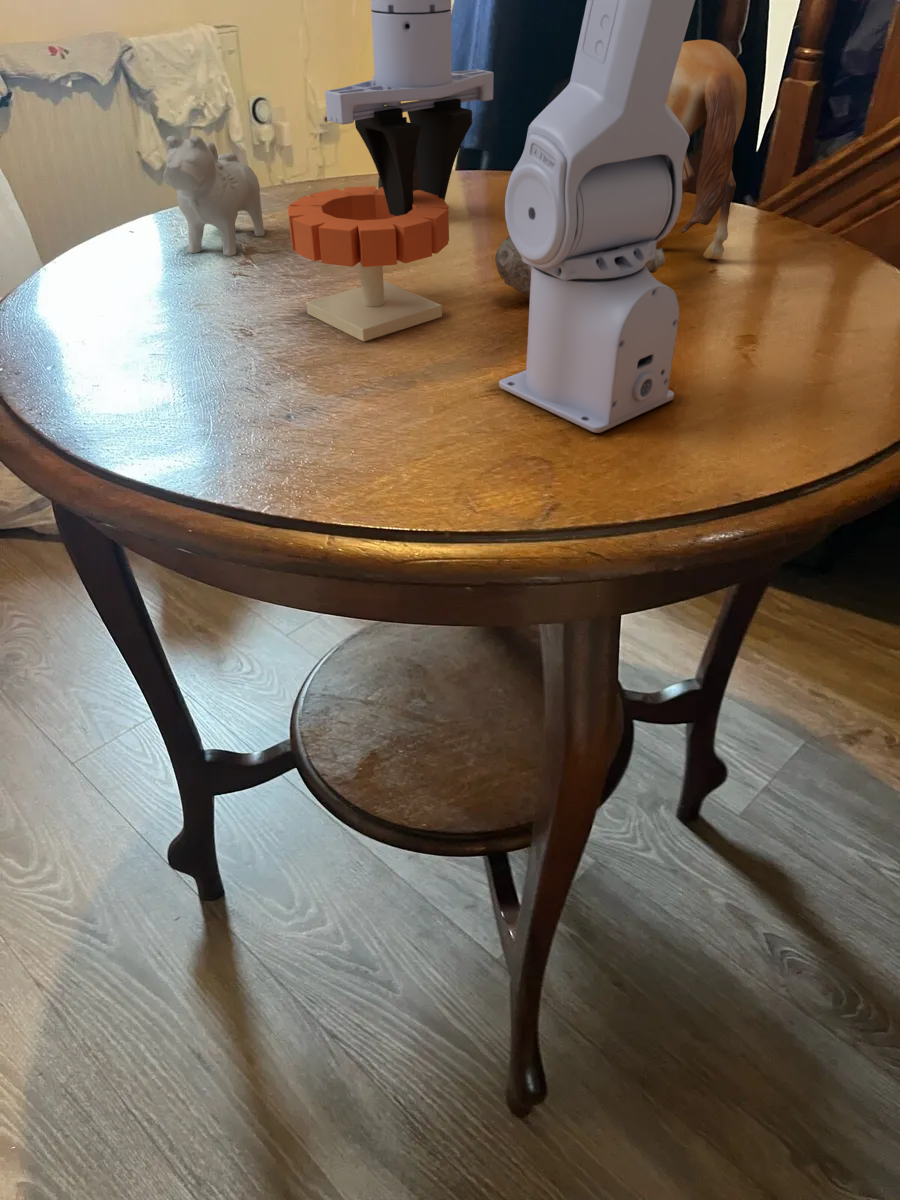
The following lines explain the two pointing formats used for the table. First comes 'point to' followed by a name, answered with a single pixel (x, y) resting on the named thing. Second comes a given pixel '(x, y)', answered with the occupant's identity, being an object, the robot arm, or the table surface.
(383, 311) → the stand
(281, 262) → the table surface
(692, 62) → the horse figurine
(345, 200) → the ring
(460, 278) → the table surface
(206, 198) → the dog figurine
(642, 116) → the robot arm
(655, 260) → the seashell
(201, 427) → the table surface
